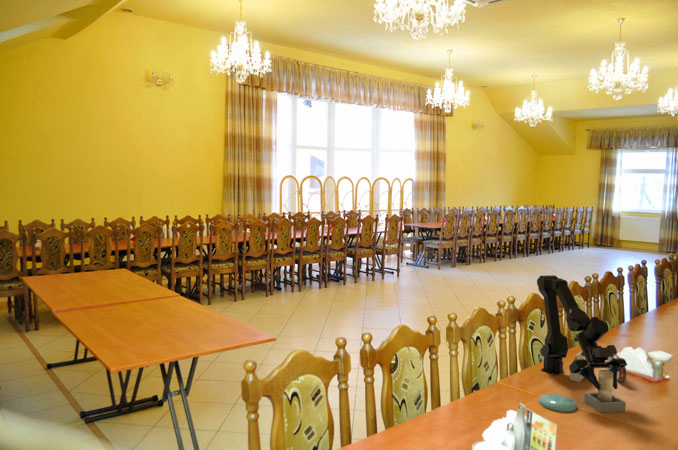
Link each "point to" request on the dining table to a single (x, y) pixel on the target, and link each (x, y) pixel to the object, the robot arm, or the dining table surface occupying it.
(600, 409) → the pocket
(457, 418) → the dining table surface
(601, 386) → the peg
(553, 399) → the saucer
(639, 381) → the dining table surface
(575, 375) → the milk carton
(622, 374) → the tin
